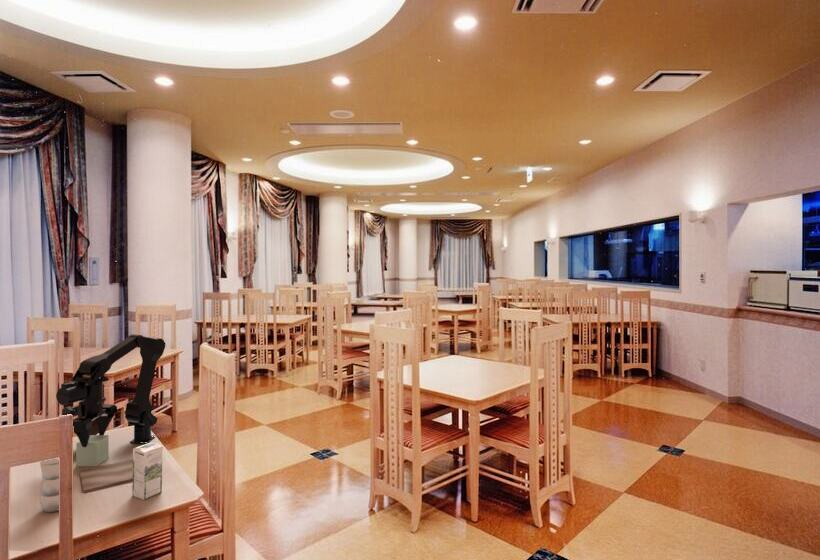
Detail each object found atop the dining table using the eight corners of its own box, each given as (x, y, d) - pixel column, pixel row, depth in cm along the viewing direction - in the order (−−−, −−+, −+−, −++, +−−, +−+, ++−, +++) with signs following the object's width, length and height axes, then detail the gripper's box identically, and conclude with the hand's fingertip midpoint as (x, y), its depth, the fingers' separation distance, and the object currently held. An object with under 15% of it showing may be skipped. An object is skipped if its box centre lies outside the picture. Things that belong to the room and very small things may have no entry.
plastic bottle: (58, 515, 126) (57, 443, 125) (33, 514, 126) (33, 442, 125) (75, 503, 132) (75, 434, 131) (52, 502, 132) (52, 433, 131)
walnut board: (80, 472, 150) (80, 470, 150) (136, 460, 160) (136, 458, 160) (83, 492, 138) (83, 490, 138) (144, 478, 148) (144, 475, 148)
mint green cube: (89, 457, 161) (88, 435, 161) (108, 457, 162) (108, 435, 161) (76, 466, 155) (76, 442, 154) (96, 466, 155) (96, 442, 155)
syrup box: (150, 487, 142) (150, 441, 141) (162, 492, 139) (162, 445, 139) (132, 495, 137) (132, 447, 136) (144, 501, 134) (144, 452, 134)
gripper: (85, 388, 166) (86, 431, 167) (48, 405, 148) (48, 453, 148) (117, 388, 167) (118, 431, 168) (84, 405, 148) (85, 453, 149)
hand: (93, 441), depth 158 cm, fingers open, 9 cm apart
